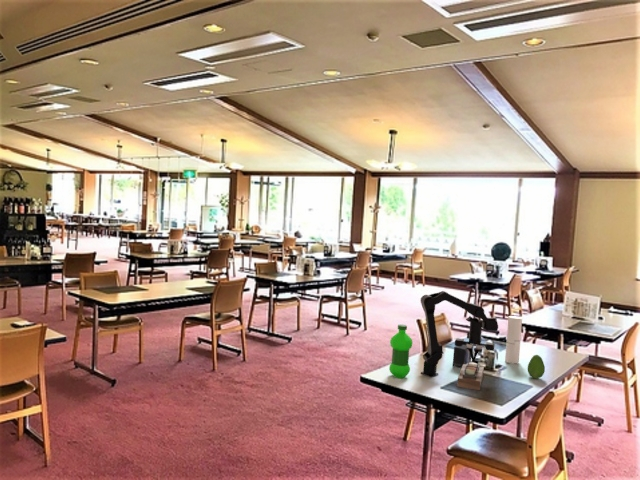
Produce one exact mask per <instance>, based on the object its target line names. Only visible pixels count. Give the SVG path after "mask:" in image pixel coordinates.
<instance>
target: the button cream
mask: <svg viewBox="0 0 640 480" xmlns="http://www.w3.org/2000/svg"><path fill="white" fill-rule="evenodd" d="M477 364H478V363H476V362H473V361H471V362H470V363H469V366H474V367H477Z"/></svg>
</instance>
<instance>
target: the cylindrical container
mask: <svg viewBox="0 0 640 480" xmlns="http://www.w3.org/2000/svg"><path fill="white" fill-rule="evenodd" d="M522 325H523V318H522V316H517V315H516V316H515V315H509V316H508V317H507V330H506V331H507V332H506V333H507V334H506V344H505V356H504V361H505V362H506V363H508V364H513V363H517V364H519V363H520V353H521V352H520V350H521V339H522Z"/></svg>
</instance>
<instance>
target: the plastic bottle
mask: <svg viewBox="0 0 640 480" xmlns="http://www.w3.org/2000/svg"><path fill="white" fill-rule="evenodd" d="M407 328H408V325H406V324H398V325H397V330H398V332H396V334H394V335H393V336H392V337H391V338H390V343H389V344H390V346H391V348H392V353H391V354H392V355H391V363H390V365H389V373H390V374H391V375H393V377H394V378H398V379H404V378H406V377H407V376H408V374H409V373H410V371H411V367H410V364H409V360H410V359H409V358H410V350H411V348H412V347H413V339H412V338H411V336H410V335H409V334H407V332H406V330H407Z"/></svg>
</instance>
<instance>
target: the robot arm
mask: <svg viewBox="0 0 640 480" xmlns="http://www.w3.org/2000/svg"><path fill="white" fill-rule="evenodd" d="M443 301H446V302H448V303H450V304H452V305H455V306H456V307H459V308H461V309H462V310H464V311H466V313H468V314H470V315H471V316H470V315H469V316H468V317H467V318H466V319H465V321H467V322H469V331H467V332H466V339H467V340H468V341H467V340H465V339H464V338H458V337H457V338H455V341H454V347H455V346H462V345H466V346H467V347H466V349H468V350H469V352H470V355H471V362H472V363H475V360H476V358H477V356H478V354H479V352H482V350H483V348H484V349H485V350H487V351H490V352H494V351H495V346H496V345H495V343H494V342H488V341H486V343H482V330H484V331H485V332H498V329H499V324H498V320H497V319H498V318H496V317H493V316H492V317H487V316H486V314H485V310H484V307H482V306H480V305H479V304H474V303H472V302H467V301H465V300H462V299H461V298H458V297H457V296H454V295H452V294H450V293H448V292H447V291H445V290H442V291H439V292H434V293H430V294H424V295H422V296H421V298H420V305H421V306H422V309H423V312H424V315H425V323H426V329H427V330H426V331H427V337H428V344H427V350H426V351H425V353H424V354H423V355H422V358H423V360H424V361H423V369H422V370H423V371H420V374H422V375H425V376H427V377H430V378H431V377H434V376H439V373H437V369H438V368H437V366H438V364H439V362H440V360H441V359H442V358H443V354H444V352H443V345H442V344H441V342H439V340H438V335H437V327H436V320H435V310H436V305H439V304H440V303H442V302H443ZM472 316H473V317H472ZM474 347H475V350H474Z"/></svg>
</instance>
